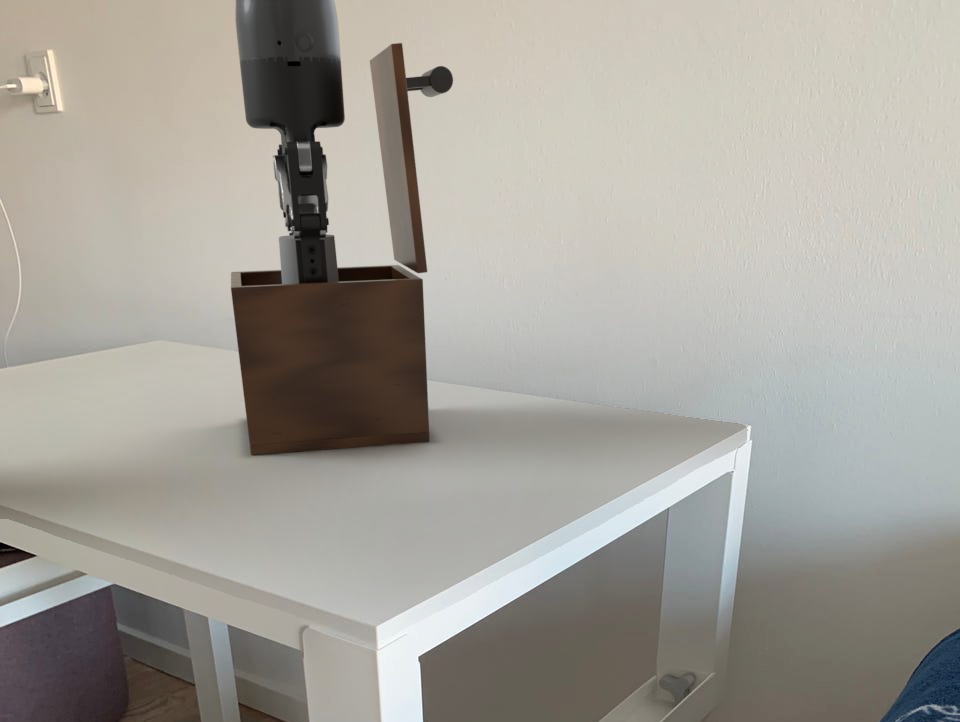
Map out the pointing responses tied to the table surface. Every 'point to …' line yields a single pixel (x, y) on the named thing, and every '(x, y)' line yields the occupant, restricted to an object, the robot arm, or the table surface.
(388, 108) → the lid
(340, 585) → the table surface
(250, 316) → the chest
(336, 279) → the container
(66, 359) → the table surface
